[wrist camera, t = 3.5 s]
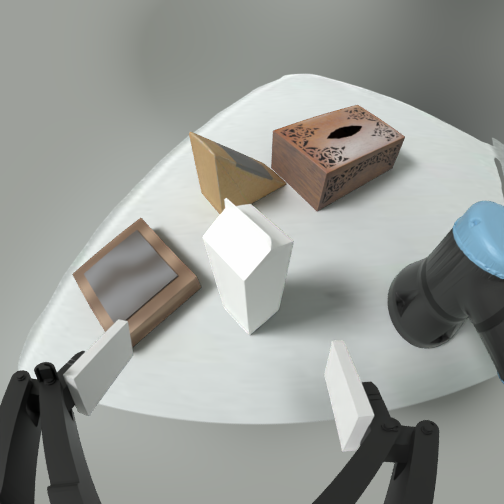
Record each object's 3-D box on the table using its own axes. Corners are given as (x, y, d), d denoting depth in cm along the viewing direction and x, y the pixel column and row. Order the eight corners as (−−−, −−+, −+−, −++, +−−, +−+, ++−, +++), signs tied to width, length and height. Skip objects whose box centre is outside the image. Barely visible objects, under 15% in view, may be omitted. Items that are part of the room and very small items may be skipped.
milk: (249, 335, 39) (241, 264, 20) (222, 306, 41) (194, 216, 23) (279, 309, 41) (299, 219, 22) (253, 282, 43) (249, 180, 25)
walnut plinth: (201, 287, 43) (196, 275, 39) (126, 352, 37) (114, 346, 34) (147, 230, 49) (140, 216, 45) (83, 284, 43) (71, 273, 40)
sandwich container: (288, 184, 55) (295, 122, 42) (224, 220, 50) (214, 155, 37) (262, 162, 58) (263, 103, 46) (201, 192, 54) (188, 131, 41)
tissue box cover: (316, 212, 51) (326, 173, 42) (271, 169, 57) (272, 130, 49) (391, 168, 58) (405, 136, 50) (349, 136, 65) (357, 104, 56)
